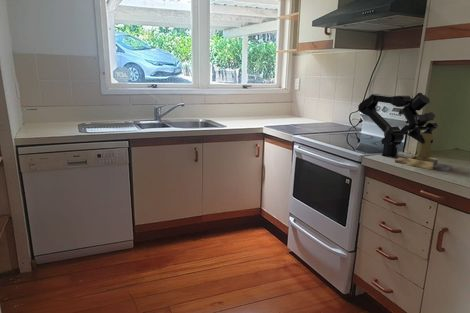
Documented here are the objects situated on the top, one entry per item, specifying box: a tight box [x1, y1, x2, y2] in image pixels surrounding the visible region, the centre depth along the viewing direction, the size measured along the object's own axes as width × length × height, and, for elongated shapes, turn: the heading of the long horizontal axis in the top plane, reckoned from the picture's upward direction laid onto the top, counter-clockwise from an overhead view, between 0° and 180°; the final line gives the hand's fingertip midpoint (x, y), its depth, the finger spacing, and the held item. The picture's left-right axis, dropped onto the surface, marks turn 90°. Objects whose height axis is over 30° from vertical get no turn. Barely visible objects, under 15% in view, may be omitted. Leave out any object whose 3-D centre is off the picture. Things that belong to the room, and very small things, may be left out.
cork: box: [415, 132, 434, 158], centre depth 163 cm, size 6×6×11 cm
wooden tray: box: [394, 155, 452, 172], centre depth 165 cm, size 23×11×3 cm, turn 49°
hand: (428, 143), depth 161 cm, fingers closed on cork, 5 cm apart
